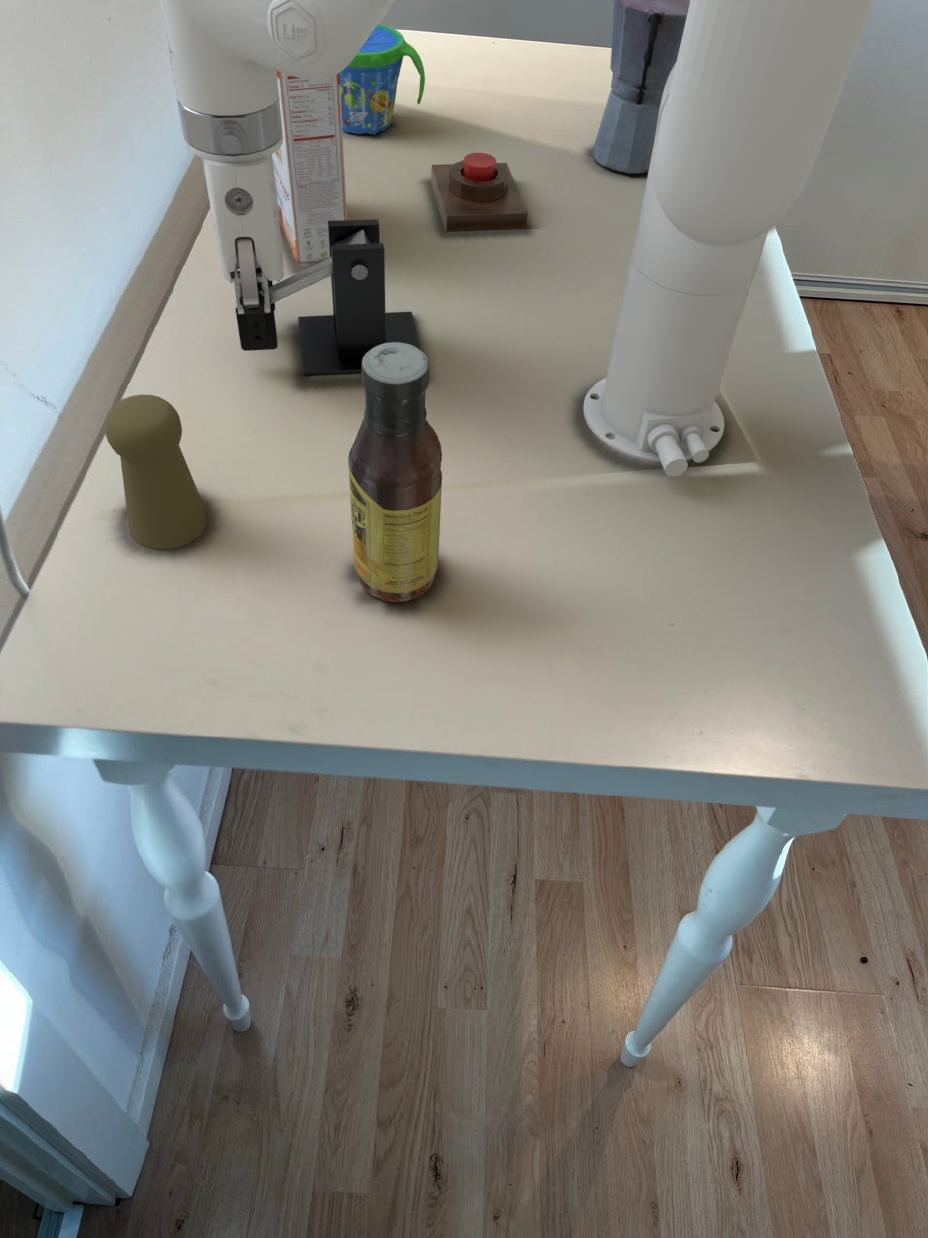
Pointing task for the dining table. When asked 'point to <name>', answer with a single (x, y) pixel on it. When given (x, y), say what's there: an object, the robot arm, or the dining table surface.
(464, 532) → the dining table surface
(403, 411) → the sauce bottle
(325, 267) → the lever
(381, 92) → the snack cup
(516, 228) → the button block
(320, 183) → the cracker box
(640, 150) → the moka pot
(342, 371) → the bracket
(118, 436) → the olive pawn
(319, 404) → the dining table surface
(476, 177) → the button
